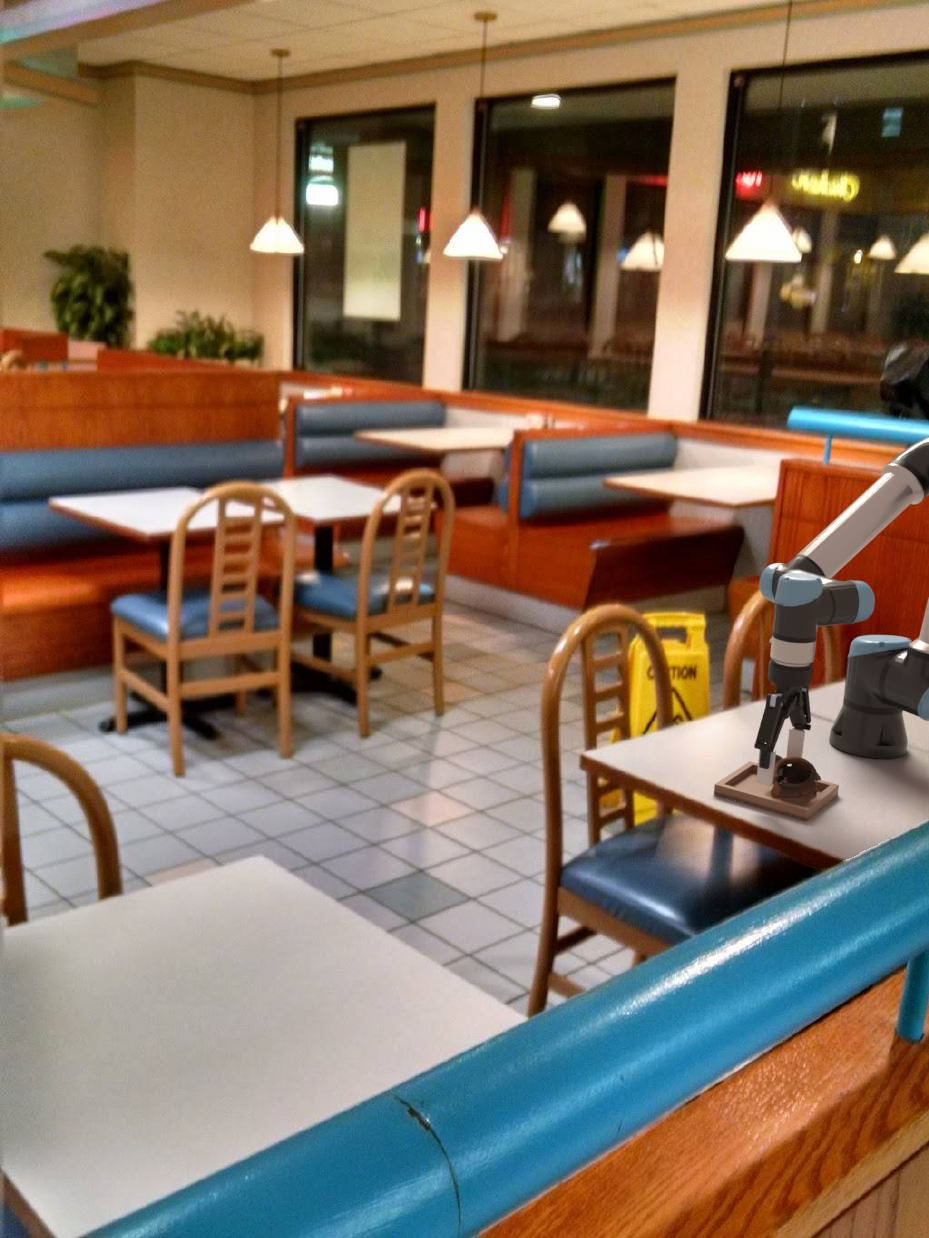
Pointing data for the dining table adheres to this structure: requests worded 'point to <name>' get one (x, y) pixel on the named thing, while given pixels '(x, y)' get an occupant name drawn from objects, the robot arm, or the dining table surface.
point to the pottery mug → (793, 778)
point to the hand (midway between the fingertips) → (779, 773)
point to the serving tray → (759, 795)
